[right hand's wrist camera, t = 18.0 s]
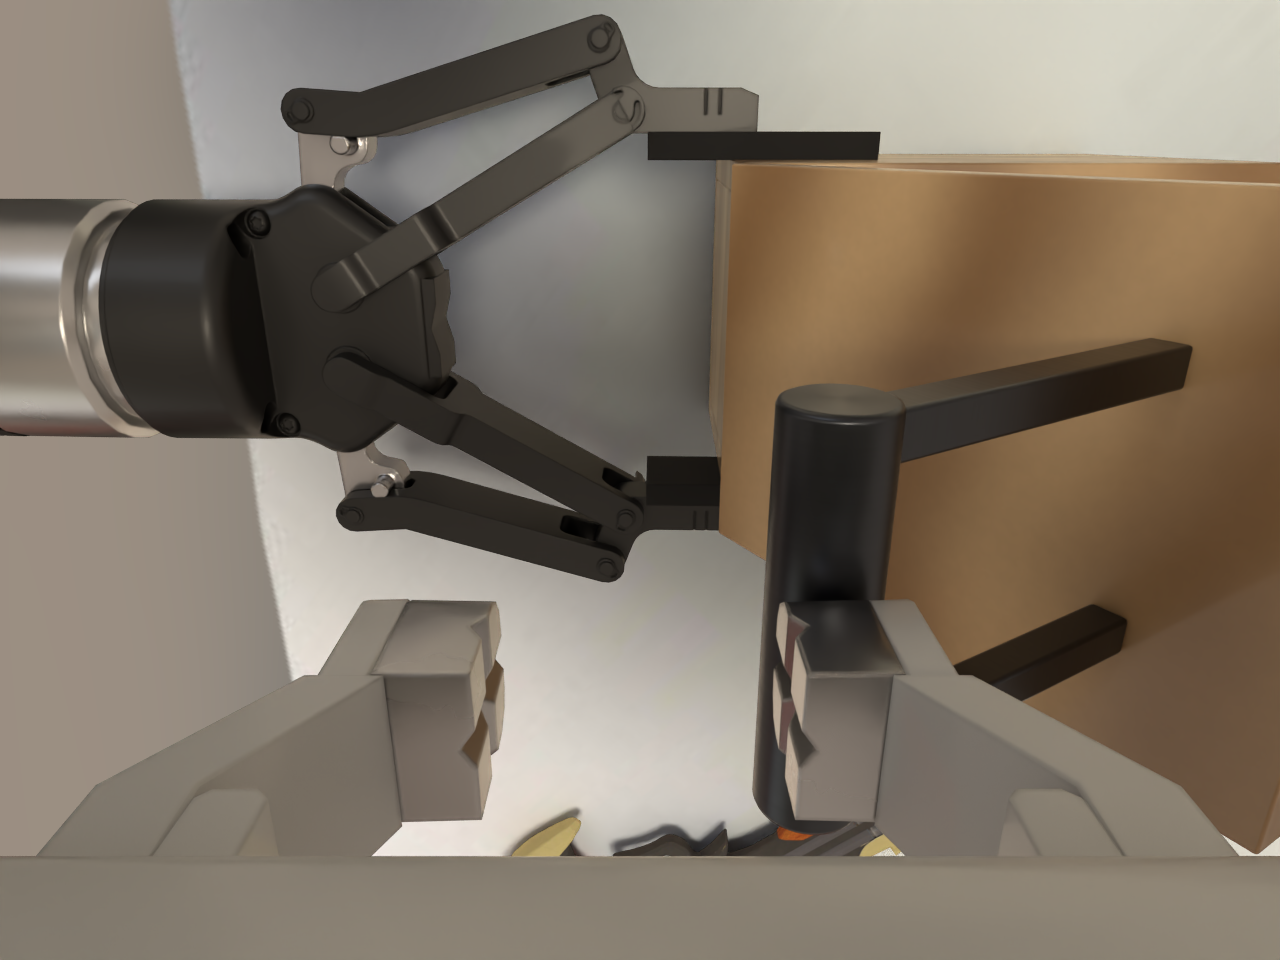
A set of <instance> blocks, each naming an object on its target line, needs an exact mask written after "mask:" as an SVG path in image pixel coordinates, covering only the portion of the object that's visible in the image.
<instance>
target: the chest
mask: <svg viewBox="0 0 1280 960" xmlns="http://www.w3.org/2000/svg"><path fill="white" fill-rule="evenodd" d="M742 163H765V164H790V165H816V166H841V167H867V168H892V169H918V170H943V171H969V172H994V173H1020V174H1045V175H1071V176H1096V177H1122V178H1147V179H1173V180H1198V181H1224V182H1249V183H1275V184H1280V162H1257V161H1234V160H1211V159H1188V158H1165V157H1142V156H1119V155H1095V154H878V160H716V182H715V216H714V249H713V283H712V316H711V350H710V383H709V414H710V420H711V426H712V432H713V438H714V443H715V449H716V455H717V460H718V466H719V472H720V477H721V454H722V426H723V399H724V371H725V344H726V316H727V288H728V261H729V233H730V206H731V178H732V165H733V164H742Z"/></svg>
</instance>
